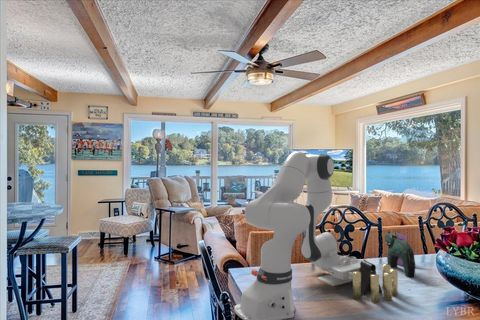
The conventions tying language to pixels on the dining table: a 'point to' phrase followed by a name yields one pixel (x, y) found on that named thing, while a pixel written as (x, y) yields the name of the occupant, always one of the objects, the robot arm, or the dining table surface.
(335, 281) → the mat
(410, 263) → the green animal figurine
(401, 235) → the toy chair
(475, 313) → the dining table surface
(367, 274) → the phone stand
